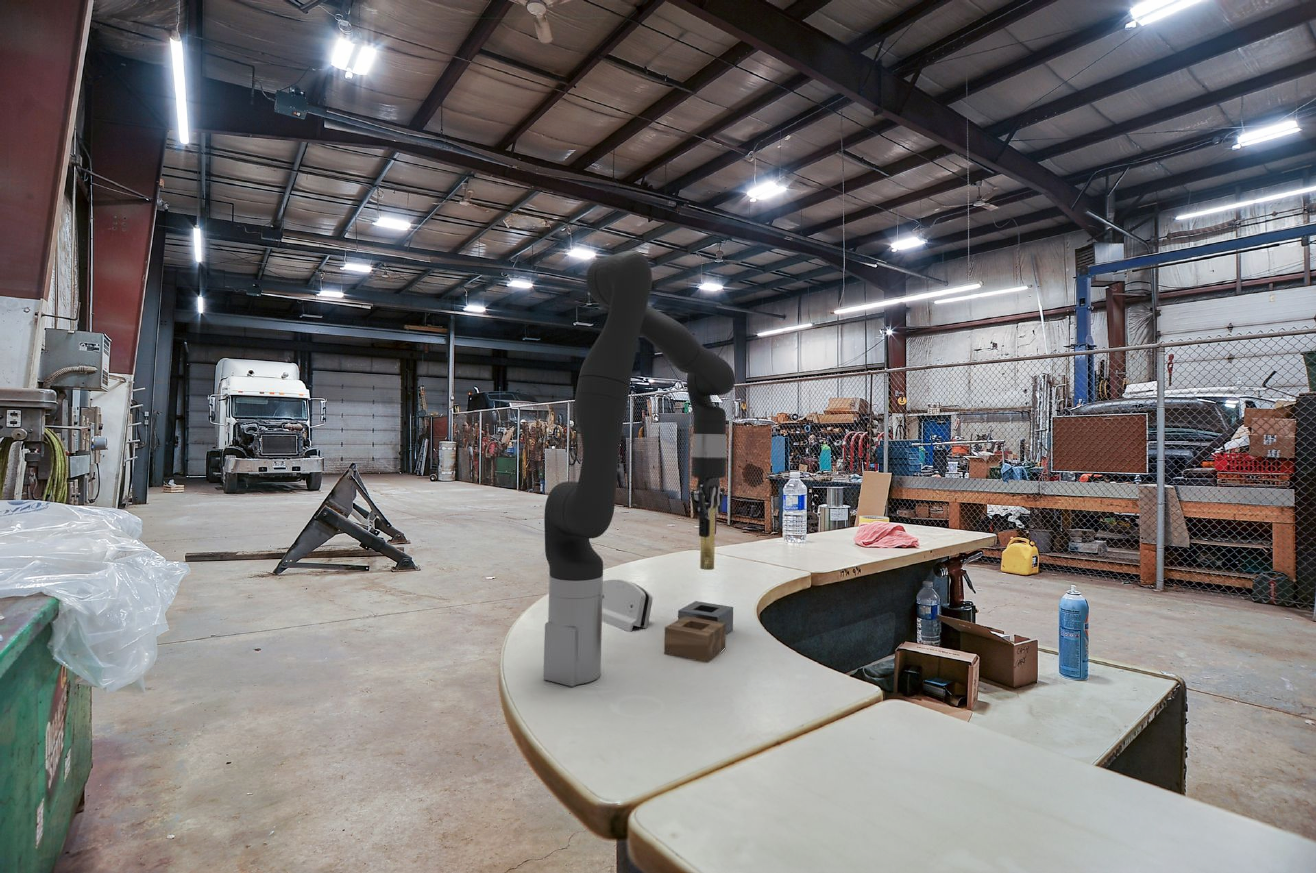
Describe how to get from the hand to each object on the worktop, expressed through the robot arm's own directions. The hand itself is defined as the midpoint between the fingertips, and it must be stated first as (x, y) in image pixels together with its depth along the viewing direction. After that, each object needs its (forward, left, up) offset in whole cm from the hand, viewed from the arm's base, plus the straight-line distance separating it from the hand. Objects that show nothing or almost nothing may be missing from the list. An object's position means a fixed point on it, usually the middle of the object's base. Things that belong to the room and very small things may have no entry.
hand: (707, 535), depth 129 cm
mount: (-12, -3, -21) cm, 24 cm away
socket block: (0, 0, -21) cm, 21 cm away
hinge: (-2, +20, -21) cm, 29 cm away
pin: (0, 0, -7) cm, 7 cm away
